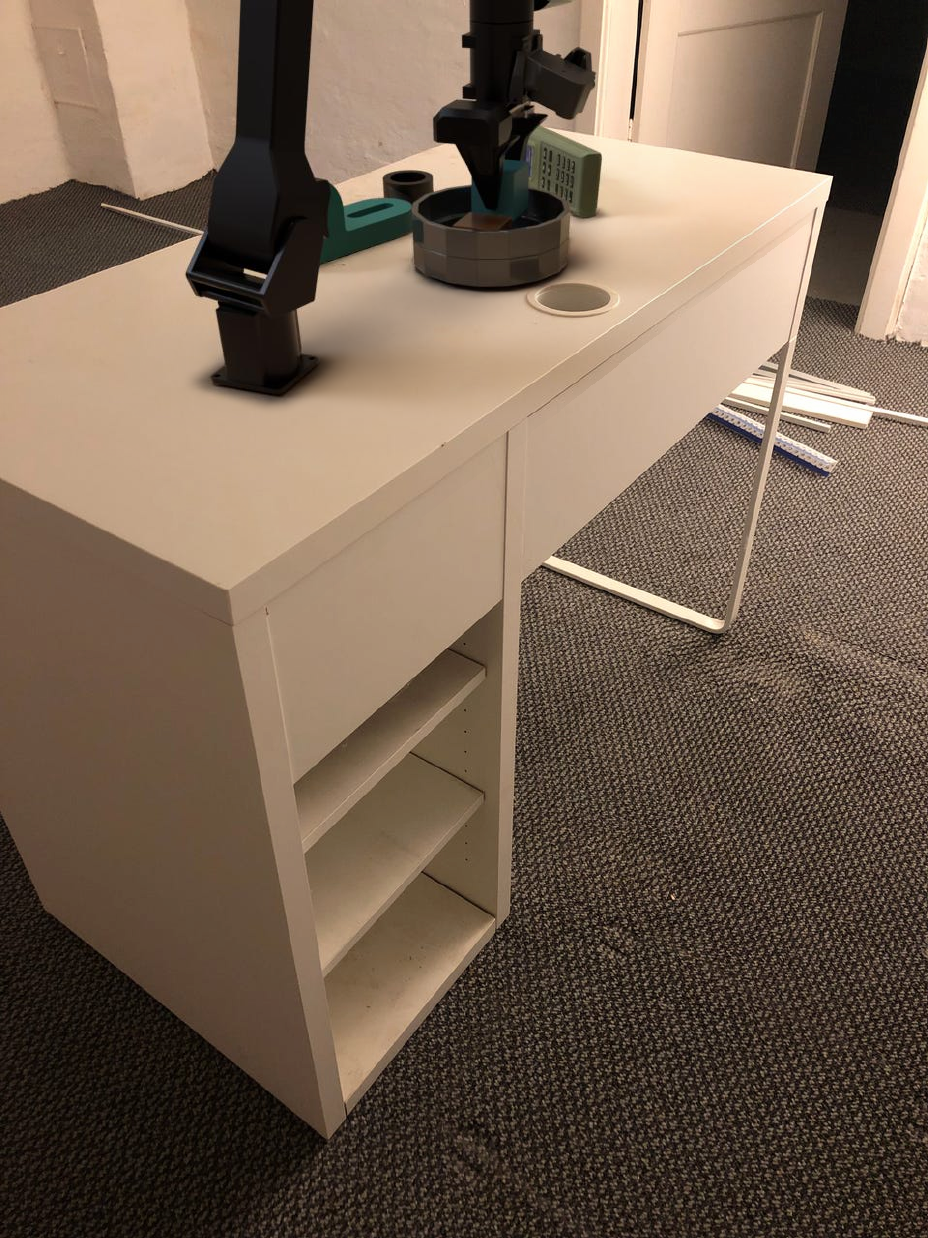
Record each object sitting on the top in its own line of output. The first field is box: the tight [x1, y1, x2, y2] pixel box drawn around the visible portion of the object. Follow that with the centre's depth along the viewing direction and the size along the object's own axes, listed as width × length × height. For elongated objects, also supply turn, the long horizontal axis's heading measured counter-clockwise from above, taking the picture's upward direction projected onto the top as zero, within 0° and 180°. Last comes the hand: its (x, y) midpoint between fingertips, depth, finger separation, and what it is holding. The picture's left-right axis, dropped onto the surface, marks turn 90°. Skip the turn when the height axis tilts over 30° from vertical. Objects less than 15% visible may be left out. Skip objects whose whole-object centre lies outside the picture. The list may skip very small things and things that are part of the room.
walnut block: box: [453, 212, 512, 230], centre depth 96 cm, size 4×4×4 cm
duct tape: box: [382, 169, 435, 205], centre depth 114 cm, size 8×10×3 cm
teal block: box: [470, 159, 529, 221], centre depth 97 cm, size 4×4×4 cm
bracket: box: [320, 182, 413, 265], centre depth 103 cm, size 18×7×8 cm, turn 136°
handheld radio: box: [523, 124, 603, 219], centre depth 117 cm, size 7×3×25 cm
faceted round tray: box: [411, 184, 572, 288], centre depth 98 cm, size 15×15×6 cm
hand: (499, 201), depth 98 cm, fingers closed on teal block, 4 cm apart
